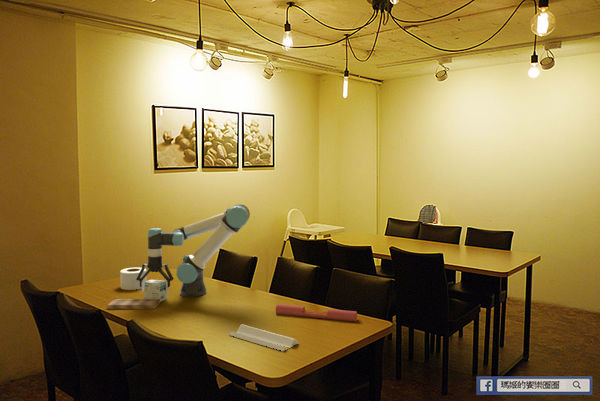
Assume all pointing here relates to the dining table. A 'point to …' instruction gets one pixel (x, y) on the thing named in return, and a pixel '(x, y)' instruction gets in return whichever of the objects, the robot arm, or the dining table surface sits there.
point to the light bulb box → (155, 289)
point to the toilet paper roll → (131, 278)
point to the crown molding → (264, 337)
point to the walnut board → (134, 304)
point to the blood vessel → (316, 313)
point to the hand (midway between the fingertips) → (155, 292)
